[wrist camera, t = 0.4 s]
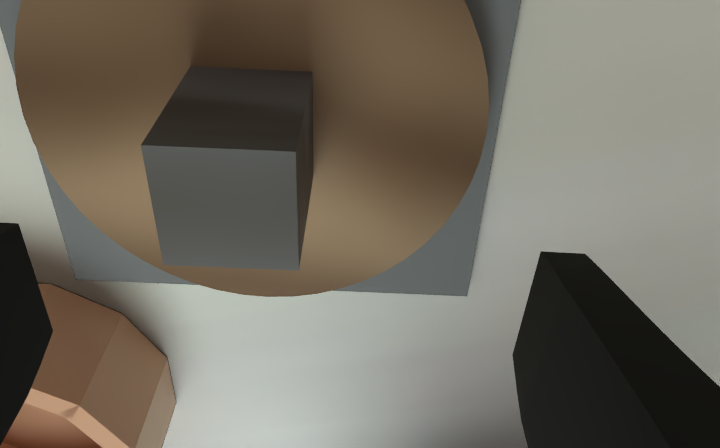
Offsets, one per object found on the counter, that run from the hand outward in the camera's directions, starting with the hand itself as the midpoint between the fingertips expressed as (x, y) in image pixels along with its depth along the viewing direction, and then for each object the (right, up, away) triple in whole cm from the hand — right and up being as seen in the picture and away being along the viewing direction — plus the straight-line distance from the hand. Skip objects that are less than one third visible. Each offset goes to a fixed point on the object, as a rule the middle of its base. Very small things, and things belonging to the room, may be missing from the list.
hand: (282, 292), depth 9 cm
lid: (-2, +4, +8) cm, 9 cm away
